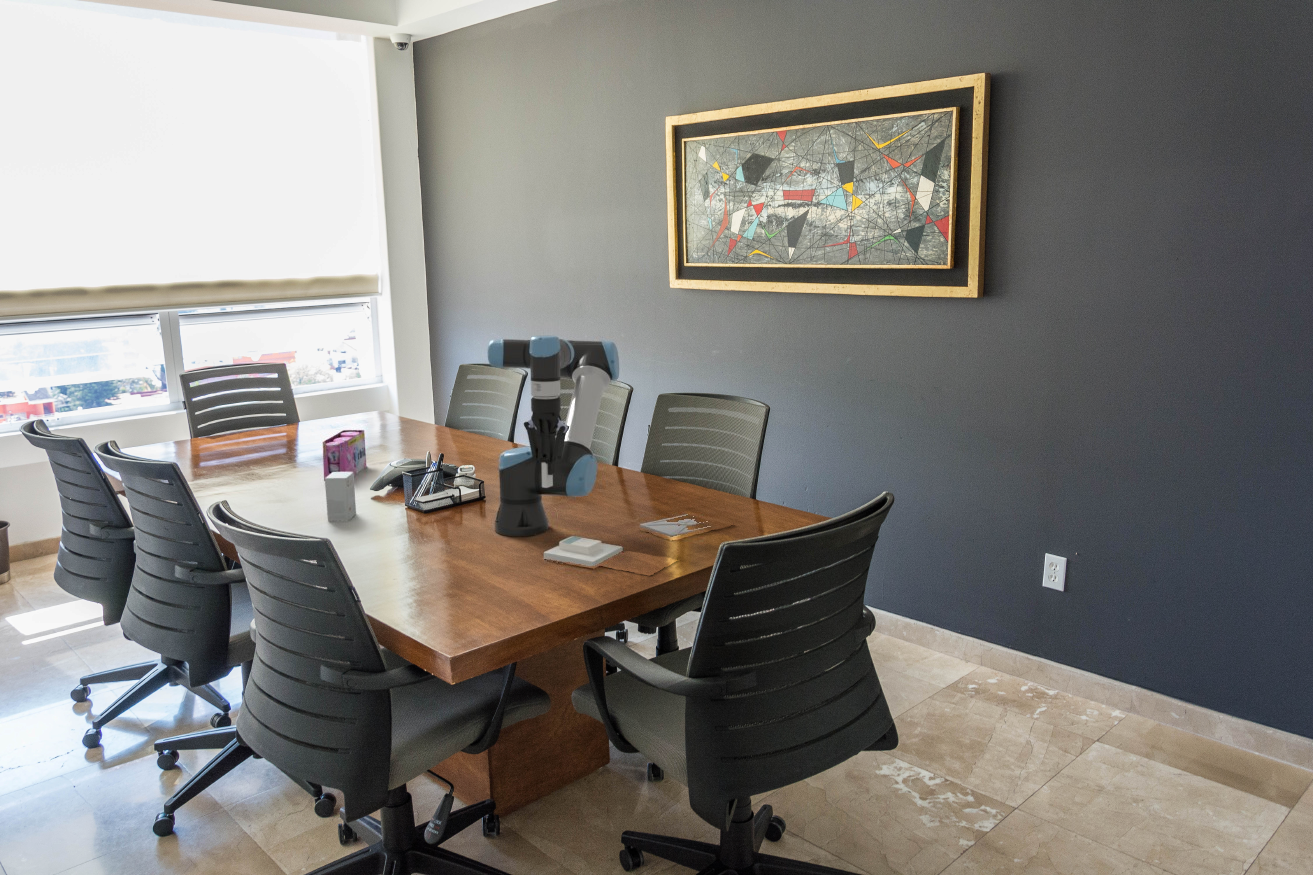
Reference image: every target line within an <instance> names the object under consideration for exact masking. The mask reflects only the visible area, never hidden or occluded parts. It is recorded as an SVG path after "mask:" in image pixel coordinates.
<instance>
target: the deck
mask: <svg viewBox="0 0 1313 875" xmlns="http://www.w3.org/2000/svg"><path fill="white" fill-rule="evenodd" d="M623 548H624V547H623V546H621V545H614V544H609V543H605V542H604V543H603V542H601V549H599V550H597V551H595V552H593V553H591V554H589V555H587V554H581V553H576V552H571V551H565V550H560V549H559V545H557V546H554V547H552V548H550V549H547V550H546V551H544V552H543V560H544V559H551V560H557V561H562V562H570V563H575V564H581V565H586V566H595V565H597V564H599V563H601V562H603V561H604V560H606V559H608V558H610V557H612V556H614V555H616V554H618V553H619V552H621V551H623V552H624V550H623Z"/></svg>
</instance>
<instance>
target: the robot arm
mask: <svg viewBox="0 0 1313 875" xmlns="http://www.w3.org/2000/svg"><path fill="white" fill-rule="evenodd" d="M487 360H488V364H489V365H490V366H491V367H493V368H501V369H503V368H507V369H521V370H522V369H524V370H529V371H530V395H531V396H532V397H531V398H530V408H531V412H532V413H531V414H532V415H531V417H530V419H529V420H527V421H525V422H524V423H523V426H524V428H525V430H526V433H527V439H528V442H529V446H519V447H516V448H515V447H514V448H510V449H508V450H504V451H503V452H501V453H500V455H499V459H498V460H499V464H498V465H499V466H498V474H499V475H498V476H499V477H498V478H499V496H500V498H499V506H498V510H497V513H496V516H495V520H494V531H495V532H496V533H498V534H500V535H501V536H508V537H529V536H536V535H540V534H542V533H545V532H547V531H548V530H549V527H550V526H549V518H548V516H547V514H546V510H545V507H544V503H543V497H542V496H543V495H544V496H561V497H570V498H575V497H585V496H588V495H589V494H590V493H591V491H592V490H593V488H594V485H595V482H596V479H597V472H598V462H597V459H596V457H595V456H594V452H593V450H591V444H592V441H593V437H594V433H595V428H596V424H597V419H598V415H599V412H600V407H601V403H602V398H603V394H604V391H605V390H606V391H607V389H609V387H610V385H611V382H612V381H617V380H618V379H619V377H620V358H619V352H618V348H617V345H616V343H615V342H612V341H606V340H599V341H597V340H595V341H594V340H571V339H567V340H566V339H561V338H559V337H558V336H556V335H545V334H543V335H534V336H531V338H530V339H509V338H508V339H507V338H500V339H498V338H494V339H492V340H490V341H489V343H488V347H487ZM562 378H563V379H572V381H573V382H574V388H573V391H572V395H571V400H570V403H569V407H568V411H567V415H566V418H565V423H563V422H562V417H561V415H560V413H561V411H562V407H561V406H562V404H561V398H560V396H561V395H562V394H561V379H562Z"/></svg>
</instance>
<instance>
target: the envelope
mask: <svg viewBox="0 0 1313 875" xmlns="http://www.w3.org/2000/svg"><path fill="white" fill-rule="evenodd" d="M688 514H689V513H687V514H681V515H677V516H674V517H673V516H672V517H669V518H663V519H659V520H655V521H649V522H645V523H644V522H643V523H640V524H639V527H643V528H646V529H649V530H652V531H655V532H658V533H661V534H664V535H667V536H670V537H673V536H677V535H681V534H685V533H688V532H692V531H696V530H699V529H704V528H707V527H711V526H707V527H703V528H698V529H694V530H687V529H688V528H686V527H687V526H692V525H696V524H699V523H701V522H699V523H697V522H696V521H694V520H695V519H692V520H691V519H684V520H679V521H678V522H667V521H666V520H670V519H674V518H678V517H682V516H686V515H688ZM693 517H694V516H693ZM706 522H708V521H706ZM703 523H704V522H703ZM678 525H680V526H678Z"/></svg>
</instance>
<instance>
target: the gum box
mask: <svg viewBox="0 0 1313 875" xmlns="http://www.w3.org/2000/svg"><path fill="white" fill-rule="evenodd" d="M365 434H366V433H365V430H364V429H343V430H341V431H340V432H337V433H336V434H334V435H333V436H331V437H329V438H327V439H326V440H324V441H322V461H323V462H322V463H323V481H324V482H325V478H326V477H327V476H328V475H330V474H331V473H332V472H353V473H354V476H355V475H356V474H358V473H360V472H361V471H362V470H364V469H365V468H366V467H367V456H366V455H367V453H366V452H367V450H366V436H365Z"/></svg>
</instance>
